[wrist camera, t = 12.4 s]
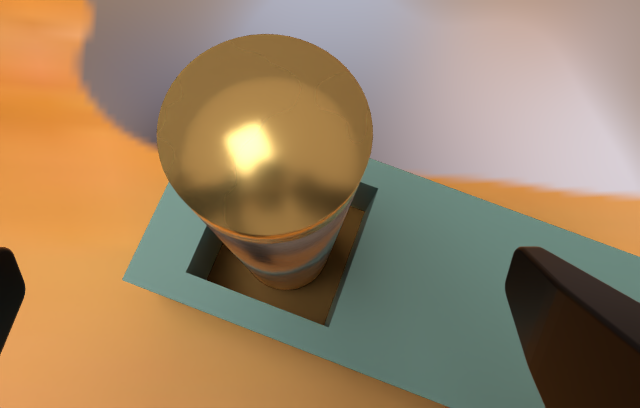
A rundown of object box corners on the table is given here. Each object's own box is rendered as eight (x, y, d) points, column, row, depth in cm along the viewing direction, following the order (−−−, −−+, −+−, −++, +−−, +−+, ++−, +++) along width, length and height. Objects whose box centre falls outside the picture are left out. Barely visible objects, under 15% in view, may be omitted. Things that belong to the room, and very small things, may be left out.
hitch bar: (153, 287, 22) (121, 279, 18) (223, 135, 24) (208, 99, 20) (573, 450, 21) (636, 480, 17) (609, 278, 23) (673, 269, 19)
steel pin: (250, 297, 22) (168, 252, 8) (238, 213, 23) (146, 49, 9) (335, 281, 22) (393, 214, 8) (320, 199, 23) (350, 21, 9)
